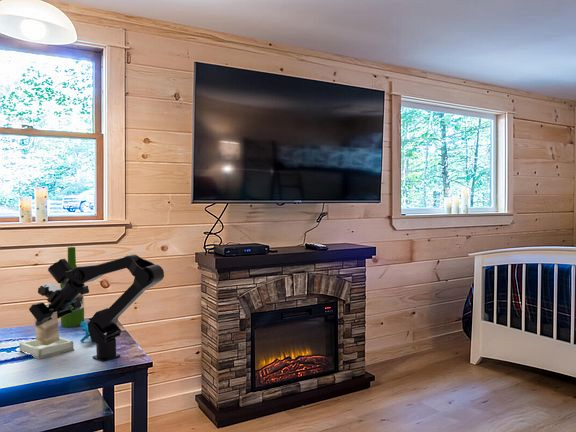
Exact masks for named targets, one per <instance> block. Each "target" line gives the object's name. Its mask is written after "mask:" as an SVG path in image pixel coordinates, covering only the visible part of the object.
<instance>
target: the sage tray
mask: <svg viewBox="0 0 576 432" xmlns="http://www.w3.org/2000/svg"><path fill="white" fill-rule="evenodd" d="M20 350H21V351H24V352H27V353H30V354H31V355H32V356H33V357H32V356H31V357H32V358H35V359H38V360H40V359H44V358H49V357H52V356H56V355H60V354H63V353H66V352H67V353H68V352H70V351H74V340H71V339H67V338H64V337H61V336H59V341H57V342H55V343H52V344H50V345H40V344H37V341H36V338H35V339H32V340H27V341H24V342H20V343H19V351H20Z"/></svg>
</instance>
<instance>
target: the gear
mask: <svg viewBox="0 0 576 432" xmlns="http://www.w3.org/2000/svg"><path fill="white" fill-rule="evenodd" d="M88 323H89V322H87V321H84V322H83V321H82V322H81V323H80V326H79V327H81V331H82V332H85V333H84V334H85V335H84V336H83V337H82V338H81V339H80V340H79V342H80V343H84V341H85V340H86V339H89V338H90V339H91V337H90V334H89V331H88V326H87V325H88Z"/></svg>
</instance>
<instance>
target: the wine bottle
mask: <svg viewBox="0 0 576 432" xmlns="http://www.w3.org/2000/svg"><path fill="white" fill-rule="evenodd" d="M67 262H68V264H69V265H70V266H71V267H72V269H75V268H76V267H78V266H77V259H76V246H68V247H67ZM65 284H66V283H64V284H63V283H59V287H60V288H62V287H63V286H64V285H65ZM77 298H78V300H79V301H80V302H81V308H80V309H79V310H77V311H74V312H73V310H72V309H73V306H71V308H70V310H71V311H72V313H70V314H67V315H65V316H63V317H61V318H60V326H61V327H63V328H75V327H74V326H76V327H80V326H79V325H80V323H81V322H82V321H83V322H85V294H83V295H81V294H79V295H78V296H77Z"/></svg>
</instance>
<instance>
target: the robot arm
mask: <svg viewBox="0 0 576 432" xmlns="http://www.w3.org/2000/svg"><path fill="white" fill-rule="evenodd" d="M125 269H127V270H128V271H129V272H130V274H131V275H132V276H133V277H134V278H133V281H132V282H133V283H132V284H131V285H130V286H129V287H128V288H127V289H126V290H125V291H124V292H123V293H122V294H121V295H120V296H119V297H118V298H117V299H115V302H113V303H112V305H110V306H109V307H107V308H106V307H105V308H104V309H100V310H99V311H96V312H95V313H94V314H93V315H92V317H90V318H88V320H89V321H88V322H87V323H88V324H87V326H88V331H89V334H90V336H89V338H90V337H91V338H90V340H91V342H92V343H95V344H96V347H95V348H96V354H95V355H93V356H92V359H95V360H98V361H100V362H106V361H110V360H113V359H116V358H120V357H121V354H119V353H117V339H116V338H117V337H120V336H121V333H122V330H121V328H120V327H119V326H118V325H117V323H118V322H119V317H121V315H122V314H123V313H124V312H126V310H128V308H129V307H131V305H132V304H133V303H134V302H136V300H137V299H138V298H139V297H141V295H142V294H143V293H144V292H145V291H147V290H148V289H150V288H151V287H154V286H156V285H157V284H159V283H160V282H162V281H163V279H164V277H165V271H164V269H163V267H162V266H161V265H158V264H155V263H154V262H152V261H150V260H147V259H145V258H142V257H140V256H139V255H138V254H130V255H125V256H123V257H120V258H117V259H113V260H110V261H106V262H103V263H93V264H86V265H80V266H77V267H76V268H75V269H72V267H71V266H70V265H69V264H68V260H67V259H66V258H60V259H59V260H58V261H56V262H54V263H53V264H52V265H50V266H49V267H48V268H47V271H48V273H49V274H50V275H51V277H52V278H53V279H54V280H55V282H57V284H60V283H63V284H64V283H66V284H65V285H64V286H63V287H62V288H60V285H57V284H55V283H54V282H47V283H43V284H41V285H40V287H38V288H37V293H38V294H39V295H41V296H42V297H45V298H47V299H46V301H47V302H48V303H47V304H48V306H49V307H47V306H46V305H45V302H41V301H40V302H37V303H33V304H31V306H30V307H29V308H28V310H29V312H30V314H32V316H33V318H34V317H35V318H36V320H37V321H36V325H37V326H39V325H41V324H43V323H45V322H47V321H49V320H51V319H52V318H51V315H53V313H54V312H57V319H58V320H59V319H61V317H63V316H65V315H67V314H70V313H72V311H71V310H70V308H71V306H73V309H72V310H73V312H74V311H77V310H79V309H80V308H81V302H80V301H79V300H78V298H77V296H78V295H79V294H81V295H83V294H84V295H87V294H90V289H89V285H86V284H85V283H90V282H95V281H96V280H98V279H100V278H102V277H103V276H104V275H107V274H110V273H114V272H117V271H122V270H125Z"/></svg>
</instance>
